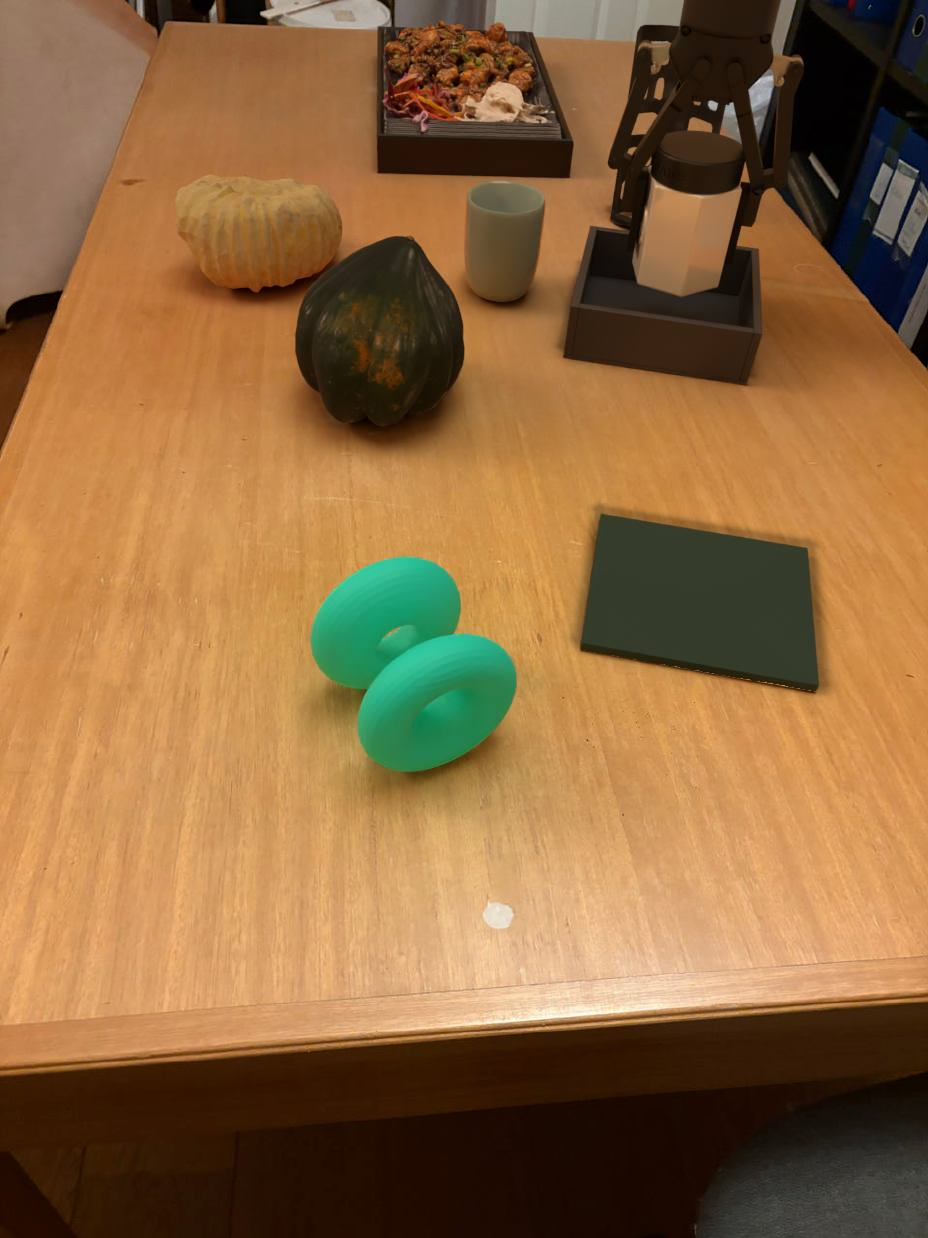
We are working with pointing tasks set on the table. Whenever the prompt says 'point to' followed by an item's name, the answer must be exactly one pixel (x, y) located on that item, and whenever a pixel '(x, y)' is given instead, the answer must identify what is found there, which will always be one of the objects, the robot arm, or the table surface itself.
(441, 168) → the food platter
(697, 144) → the jar
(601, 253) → the tub
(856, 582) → the table surface
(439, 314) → the squash
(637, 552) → the mat
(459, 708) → the donuts
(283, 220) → the pale yellow ribbed round
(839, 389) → the table surface
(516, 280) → the cup
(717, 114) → the holder
